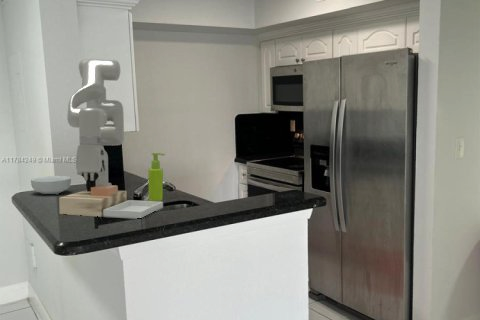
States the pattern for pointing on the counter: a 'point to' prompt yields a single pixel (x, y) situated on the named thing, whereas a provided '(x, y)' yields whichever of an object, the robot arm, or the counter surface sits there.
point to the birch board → (89, 203)
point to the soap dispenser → (156, 180)
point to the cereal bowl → (51, 184)
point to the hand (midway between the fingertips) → (91, 190)
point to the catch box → (132, 209)
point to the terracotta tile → (104, 190)
